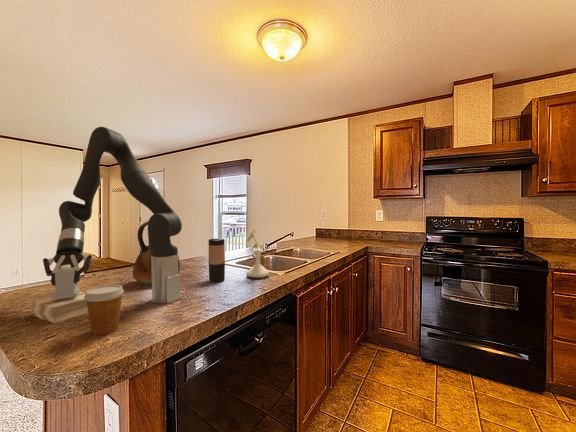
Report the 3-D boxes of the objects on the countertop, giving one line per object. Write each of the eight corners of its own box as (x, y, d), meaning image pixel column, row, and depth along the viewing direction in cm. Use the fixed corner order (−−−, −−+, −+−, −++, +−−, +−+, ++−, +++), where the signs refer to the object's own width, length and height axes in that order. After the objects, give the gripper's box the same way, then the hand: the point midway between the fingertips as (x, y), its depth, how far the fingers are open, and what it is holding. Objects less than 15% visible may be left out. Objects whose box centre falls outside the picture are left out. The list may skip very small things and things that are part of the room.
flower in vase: (254, 273, 147) (254, 226, 146) (273, 275, 142) (272, 227, 141) (240, 278, 135) (239, 228, 134) (259, 281, 130) (259, 229, 129)
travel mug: (210, 283, 127) (210, 240, 126) (207, 279, 134) (206, 239, 133) (226, 281, 130) (226, 239, 130) (222, 277, 137) (222, 238, 136)
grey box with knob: (79, 291, 97) (79, 262, 96) (76, 296, 91) (75, 266, 91) (56, 294, 94) (55, 264, 93) (51, 299, 88) (50, 268, 88)
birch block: (98, 309, 96) (98, 295, 95) (54, 324, 84) (53, 308, 84) (77, 304, 101) (77, 290, 101) (33, 316, 89) (32, 301, 89)
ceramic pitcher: (187, 281, 130) (186, 219, 130) (143, 291, 115) (141, 220, 114) (168, 274, 143) (168, 218, 142) (126, 282, 128) (125, 219, 127)
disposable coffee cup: (98, 323, 83) (97, 284, 83) (130, 322, 84) (130, 284, 83) (76, 338, 74) (75, 294, 73) (113, 337, 74) (112, 294, 74)
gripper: (43, 238, 95) (33, 280, 85) (93, 235, 102) (90, 275, 92) (47, 251, 99) (39, 292, 89) (95, 248, 106) (92, 286, 96)
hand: (65, 283), depth 91 cm, fingers closed on grey box with knob, 4 cm apart
